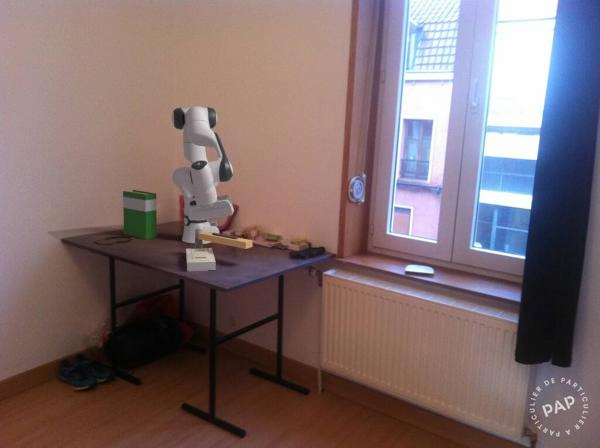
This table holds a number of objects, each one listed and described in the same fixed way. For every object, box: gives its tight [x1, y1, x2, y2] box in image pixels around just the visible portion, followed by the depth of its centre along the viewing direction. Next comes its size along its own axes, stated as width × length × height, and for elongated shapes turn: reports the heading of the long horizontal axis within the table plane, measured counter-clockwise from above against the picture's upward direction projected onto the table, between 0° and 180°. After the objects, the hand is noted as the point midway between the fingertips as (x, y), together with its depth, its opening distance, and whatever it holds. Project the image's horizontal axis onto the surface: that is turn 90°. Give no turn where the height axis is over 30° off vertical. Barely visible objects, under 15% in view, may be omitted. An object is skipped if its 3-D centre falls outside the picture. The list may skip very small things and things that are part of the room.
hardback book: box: [122, 189, 158, 240], centre depth 284 cm, size 18×7×24 cm, turn 58°
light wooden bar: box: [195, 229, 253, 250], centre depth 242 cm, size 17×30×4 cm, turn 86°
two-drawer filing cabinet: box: [185, 238, 217, 272], centre depth 239 cm, size 29×12×8 cm, turn 14°
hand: (214, 225), depth 234 cm, fingers closed
